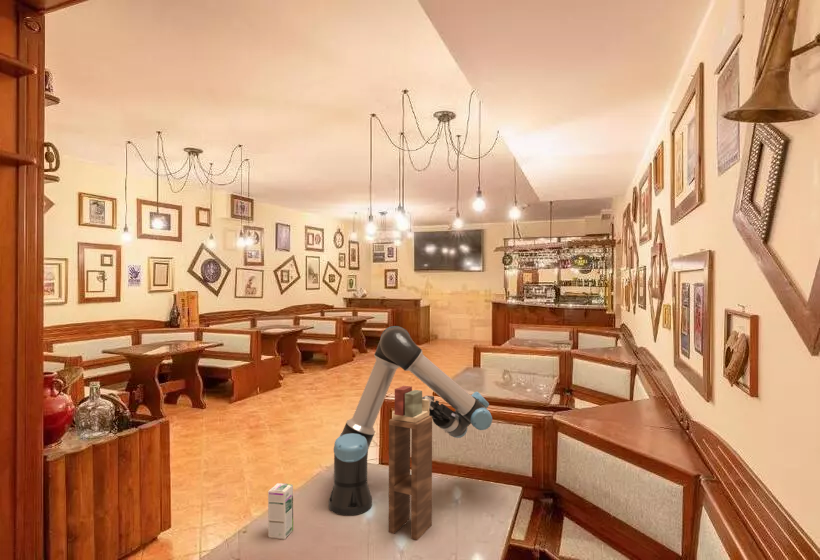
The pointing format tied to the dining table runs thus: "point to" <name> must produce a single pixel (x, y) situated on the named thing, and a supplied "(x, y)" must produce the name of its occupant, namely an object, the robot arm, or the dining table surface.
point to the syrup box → (280, 511)
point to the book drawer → (410, 405)
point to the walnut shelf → (410, 476)
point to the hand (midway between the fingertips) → (420, 399)
